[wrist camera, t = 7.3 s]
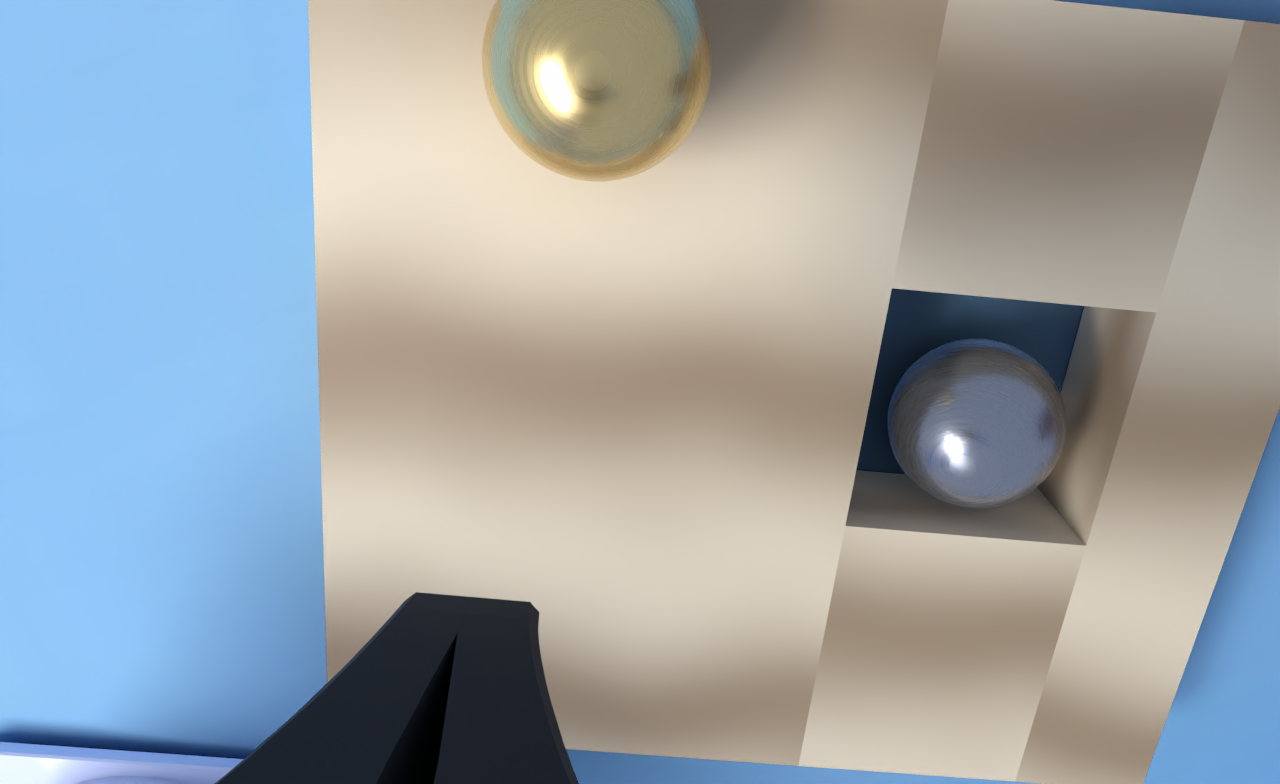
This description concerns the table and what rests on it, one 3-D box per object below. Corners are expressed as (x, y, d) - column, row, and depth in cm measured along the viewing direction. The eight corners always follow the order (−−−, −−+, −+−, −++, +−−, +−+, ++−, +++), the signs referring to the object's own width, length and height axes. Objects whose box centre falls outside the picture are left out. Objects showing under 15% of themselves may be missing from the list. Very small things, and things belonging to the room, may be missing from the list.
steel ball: (1035, 474, 20) (1019, 568, 18) (885, 419, 21) (850, 501, 18) (1099, 343, 18) (1091, 427, 16) (933, 290, 19) (900, 361, 17)
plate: (1089, 711, 23) (1140, 790, 21) (360, 655, 22) (328, 732, 20) (1310, 34, 17) (1414, 37, 15) (351, -66, 17) (306, -78, 14)
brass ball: (691, 172, 16) (704, 211, 13) (494, 153, 16) (461, 188, 13) (715, -42, 15) (737, -55, 12) (502, -65, 14) (468, -84, 12)
